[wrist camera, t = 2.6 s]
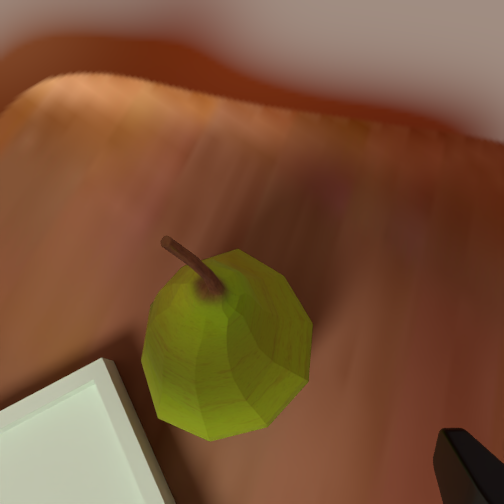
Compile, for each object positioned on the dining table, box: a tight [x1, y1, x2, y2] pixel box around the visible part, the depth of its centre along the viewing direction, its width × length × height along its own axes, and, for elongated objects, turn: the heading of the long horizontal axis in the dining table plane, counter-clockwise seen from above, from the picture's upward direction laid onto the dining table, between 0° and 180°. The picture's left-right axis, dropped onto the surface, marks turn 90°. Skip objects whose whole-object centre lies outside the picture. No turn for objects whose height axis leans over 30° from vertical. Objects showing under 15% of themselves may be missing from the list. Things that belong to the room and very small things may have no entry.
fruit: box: [141, 236, 313, 441], centre depth 14 cm, size 6×6×12 cm
